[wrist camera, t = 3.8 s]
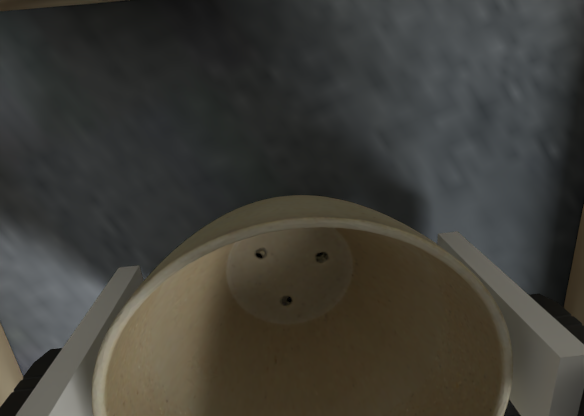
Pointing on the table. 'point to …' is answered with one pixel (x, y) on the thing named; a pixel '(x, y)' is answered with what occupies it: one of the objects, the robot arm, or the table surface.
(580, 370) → the robot arm
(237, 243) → the flower pot
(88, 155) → the table surface
